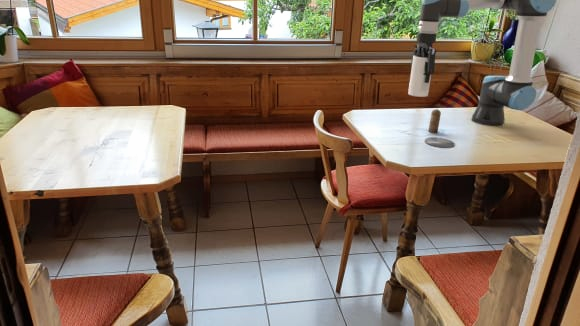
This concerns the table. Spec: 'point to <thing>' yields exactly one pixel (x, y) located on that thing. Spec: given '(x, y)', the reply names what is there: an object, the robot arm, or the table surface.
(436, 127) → the pepper mill
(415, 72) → the cup
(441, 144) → the coaster
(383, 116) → the table surface
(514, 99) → the robot arm
